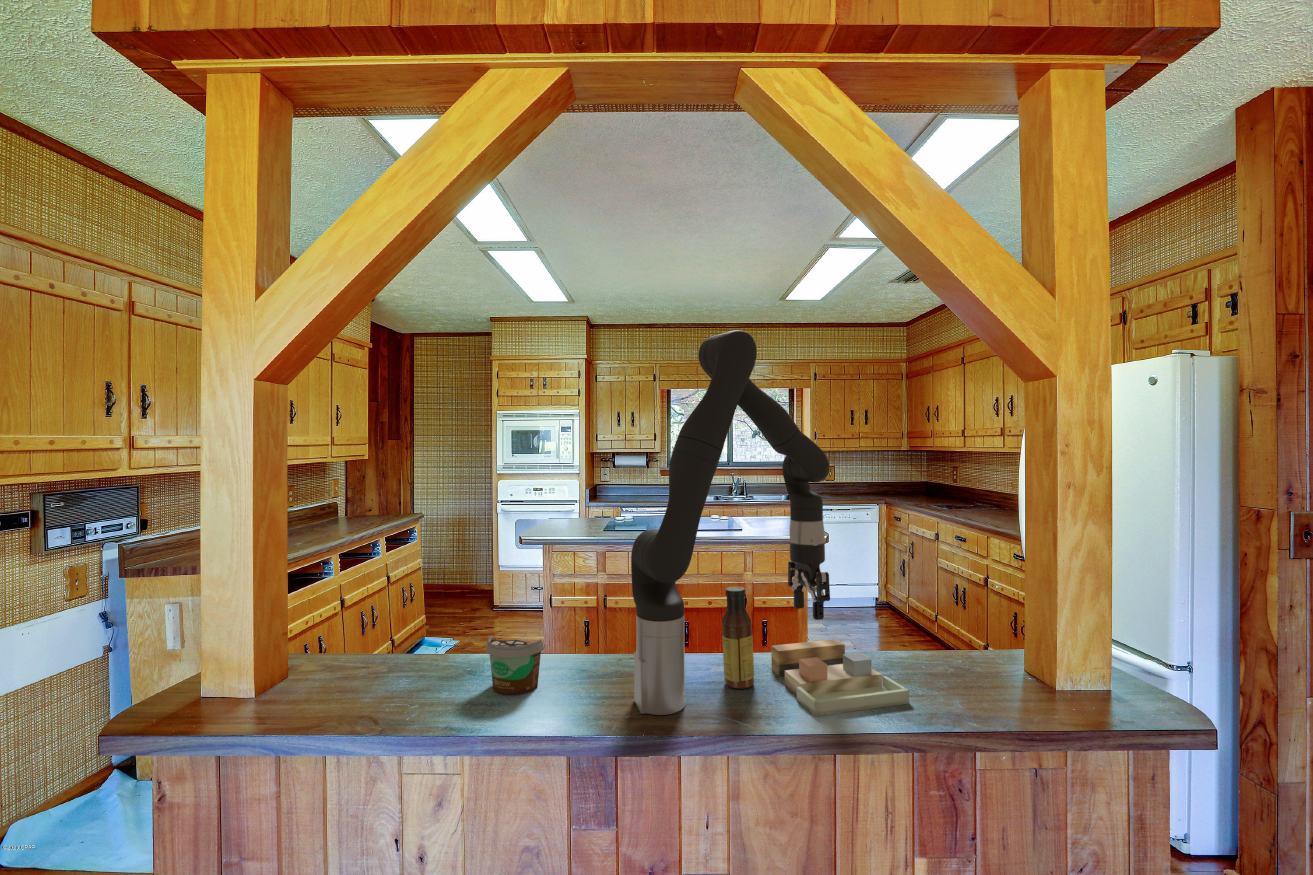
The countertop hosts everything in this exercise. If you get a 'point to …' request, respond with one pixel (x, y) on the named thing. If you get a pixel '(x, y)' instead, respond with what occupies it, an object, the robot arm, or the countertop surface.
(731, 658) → the sauce bottle
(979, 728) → the countertop surface
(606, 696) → the countertop surface
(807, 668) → the salmon pink block
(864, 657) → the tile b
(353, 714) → the countertop surface
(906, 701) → the tray
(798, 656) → the brown and black bar
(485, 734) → the countertop surface
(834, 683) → the board
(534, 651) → the food container
